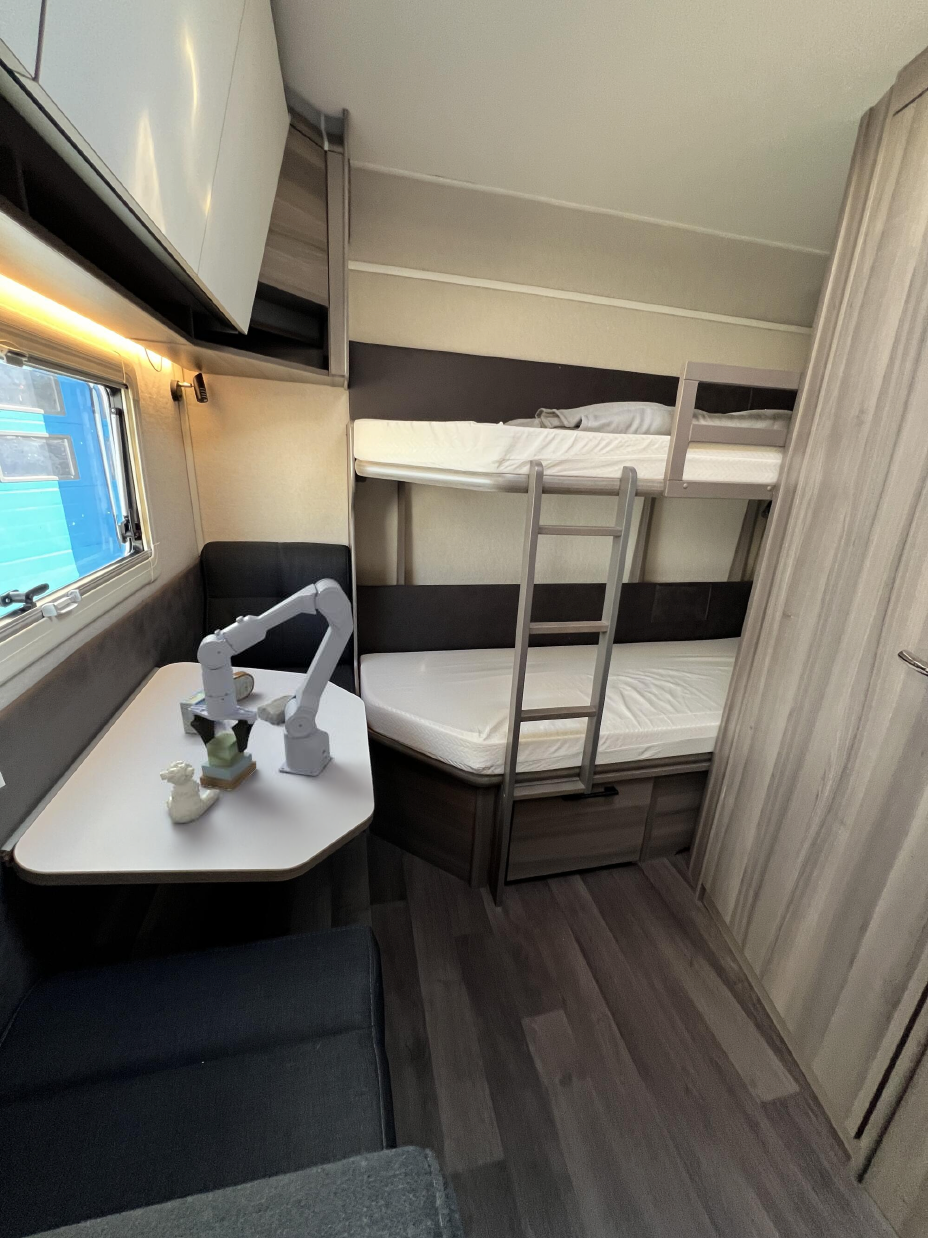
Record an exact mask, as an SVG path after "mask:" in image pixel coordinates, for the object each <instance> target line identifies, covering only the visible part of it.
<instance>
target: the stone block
mask: <svg viewBox="0 0 928 1238" xmlns="http://www.w3.org/2000/svg"><path fill="white" fill-rule="evenodd" d="M293 695H294V694H288V695H282V696H280V697H276V698H275V699H273V700H272V701H270V703H269V702H268V703H266V704H262V705H260V706H257V710H256V712H257V719H259V720H261V721H264V722H268V723H269V724H273V725H275V726H276V725H279V724H282V723H284V722H285V713H284V705H285V703H286V701H287V700H288V699H290V698H291V697H292V696H293Z"/></svg>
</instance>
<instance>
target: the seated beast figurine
mask: <svg viewBox="0 0 928 1238" xmlns="http://www.w3.org/2000/svg"><path fill="white" fill-rule="evenodd" d="M194 771H195V768H193V765H191V764H190V763H187V762H186V761H185V760H177V761H175V762H174V761H173V762H172V763H171V764H170V765H169V766H168V767H167V769H166V770H165V771H161V772H159V776H160V778H161V780H163V781H166V780H167V781H166V783H170V784H172V785H173V786H172V790H171V795H169V796H168V799H167V800H166V806H167V809H168V814H169V817H170V818H172V819H171V820H172V821H173V822H175V823H178V824H184V823H190V822H193V821H195V820H197V819H198V818H199V817H200V816H201V815H202V814H203V813H205V812H206V811H207V809H209V807H210V806H212V804H213V803H214V802H215V801H217V799H218V798H219V796H220V795H221V791H220V790H219V789H214V788H213V789H208V790H206V792H204V793H203V794H202V796H201V794H200V792H201V789H200V786H201V784H200V782H197V780H196V779H195V778H194V777H193V776H194V775H195V772H194Z"/></svg>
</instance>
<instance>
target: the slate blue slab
mask: <svg viewBox="0 0 928 1238" xmlns="http://www.w3.org/2000/svg"><path fill="white" fill-rule="evenodd" d="M252 761H253V755H252V752H247V751H244V755H243V756H242V757H241V758H240V759H239V760H238V761H237V762H236V763H235V764H234V765H233V766H232V767H223V766H214V765H209V761H208V760H207V761H205V762H204V763H203V764H201V772H202V775H203V776H208V777H213V778H218V779H223V780H228V781H231V780H233V779H234V778H235V777H236V776H237V775H239V774H240V773H241V772H242V771H243V770H245V769H246V768H247V767H248V766H249V765H250V764H252V763H253V762H252Z"/></svg>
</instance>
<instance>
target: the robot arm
mask: <svg viewBox="0 0 928 1238" xmlns="http://www.w3.org/2000/svg"><path fill="white" fill-rule="evenodd" d="M316 609H317V610H318V611H319V612H320V614H322V616H324V617H325V618H326V620H327V622H328V625H329V626H328V628H327V631H326V632H325V635H324V637H323V638H322V641H321V643H320V644H319V646H318V649H317V651H316V653H315V656H314V658H313V659H312V661H311V664H310V666H309V668H308V670H307V672H306V675H304V676H305V677H304V678H303V681H302V682H301V684H300V686H298V688H296V690H295V692H294V694H292V695H293V696H292V697H291V698H290V699H288V700H287V701H286V703H285V705H284V713H285V721H284V722H285V723H284V727H283V730H282V731H283V732H282V733H283V741H284V742H283V743H284V752H285V753H284V755H285V756H284V757H285V761H284V762H283V763H282V764H281V765H280V766H279V767H278V771H279V772H285V773H290V774H291V773H292V774H298V775H299V774H300V775H306V776H311V777H313V776H314V777H316V776H318V775H319V773H321V771H322V770H323V769H324V768H325V766H326V765H327V764H328V762H330V761H331V759H332V755H331V750H330V749H331V748H330V736H329V733H328V732H327V731H325V730H322V729H319V728H318V726H317V723H316V716H317V714H318V713H319V707H320V702H321V698H322V695H323V693H324V691H325V689H326V687H327V685H328V682H329V681H330V679H331V677H332V674H333V673H334V671H335V668H336V666H337V664H338V662H339V660H340V658H341V656H342V654H343V652H344V650H345V647H346V645H347V643H348V642H349V639H350V638H351V635H352V633H353V631H354V622H353V621H354V620H353V614H352V613H353V612H352V604H351V602H350V600H349V597H348V596H347V594H345V591H343V588H342V587H341V585H340V584H339V583H338V581H336V580H335V579H331V578H323V579H320V580H318V581H317V582H316V583H315V584H314V583H311V584H309V585H307V586H305V587H304V588H302V589H301V590H299V591H297V592H296V593H294V594H292V595H291V596H289V597H288V598H286V599H284V600H283V601H282V602H279V603H278V604H276V605H275V606H273V607H272V608H270V609H269V610H266V611H265V612H264V613H262V614H260V615H259V616H258V615H257V616H255V615H250V614H248V615H246V616H245V617H244V616H242V615H241V616H238V617H237V618H236V620H235V622H234V623H232V624H230V625H228V626H227V627H225V628H224V629H222V630H220V629H216V630H215V631H214V634H209V635H207V636H206V637H204V638H203V639H202V641H201V642H200V645H199V647H198V650H197V661H198V662H199V664H200V667H201V670H202V671H201V680H202V686H203V690H204V694H205V702H206V705H194V706H192V707H190V708H189V709H188V713H189V717H194V720H193V721H191V722H190V725H191V727H193V728H194V729H195V730H196V731H197V733H198V734H197V735H199V737H200V739H201V741H202V742H203V744H204V746H205V748H206V750H207V747H206V744H207V743H208V742H210V741H211V740H212V739H214V738H215V737H216V733H215V732H216V731H215V725H216V724H215V720H216V721H217V720H218V721H237V722H236V723H235V724H234V725H233V726H231V727H230V728H231V731H232V733H233V734H235V737H236V740H237V747H238V751H239V753H243V752H246V750H248V744H249V739H250V735H251V732H252V729H253V727H254V725H255V723H256V721H258V715H257V710H256V711H254V710H250V709H247V708H245V707H242V706H240V705H238V702H236V694H235V686H234V677H233V673H234V670H233V668H232V667H233V666H232V662H231V661H232V660H231V657H232V656H236V655H238V654H241V652H243V651H245V650H247V649H249V648H250V647H252V646H254V645H255V644H257V643H258V642H261V641H262V640H264V639H265V638H266V635H267V631H268V630H270V629H272V628H273V627H276V626H278V625H279V624H281V623H284V622H285V621H287V620H289V619H291V618H293V617H295V616H297V615H299V614H301V613H305V614H310V615H311V614H312V615H317V611H316ZM218 721H217V722H218Z"/></svg>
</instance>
